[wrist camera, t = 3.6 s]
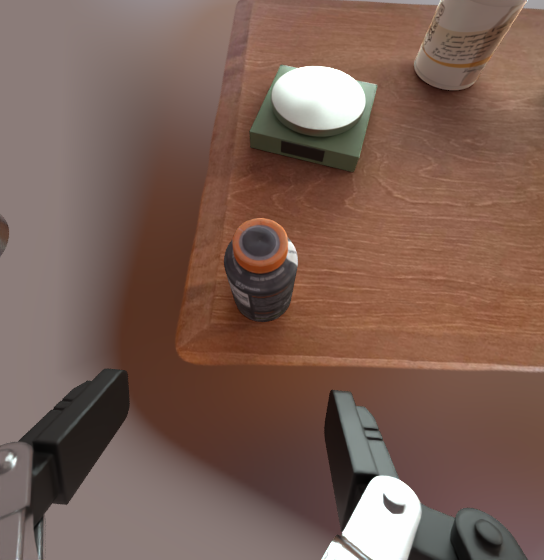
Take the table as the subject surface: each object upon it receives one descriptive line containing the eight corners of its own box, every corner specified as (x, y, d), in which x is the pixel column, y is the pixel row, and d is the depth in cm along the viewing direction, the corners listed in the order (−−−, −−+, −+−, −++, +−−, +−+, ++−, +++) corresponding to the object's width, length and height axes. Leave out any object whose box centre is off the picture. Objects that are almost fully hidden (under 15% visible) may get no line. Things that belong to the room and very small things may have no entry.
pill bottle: (294, 274, 32) (307, 211, 22) (287, 327, 30) (298, 284, 20) (240, 266, 33) (227, 200, 22) (229, 318, 30) (209, 272, 20)
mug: (397, 66, 47) (433, -29, 37) (440, 36, 50) (484, -58, 40) (454, 100, 44) (510, 7, 34) (496, 65, 47) (559, -28, 37)
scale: (250, 147, 40) (248, 121, 36) (280, 81, 45) (281, 52, 41) (353, 173, 38) (362, 148, 34) (371, 101, 43) (381, 73, 40)
